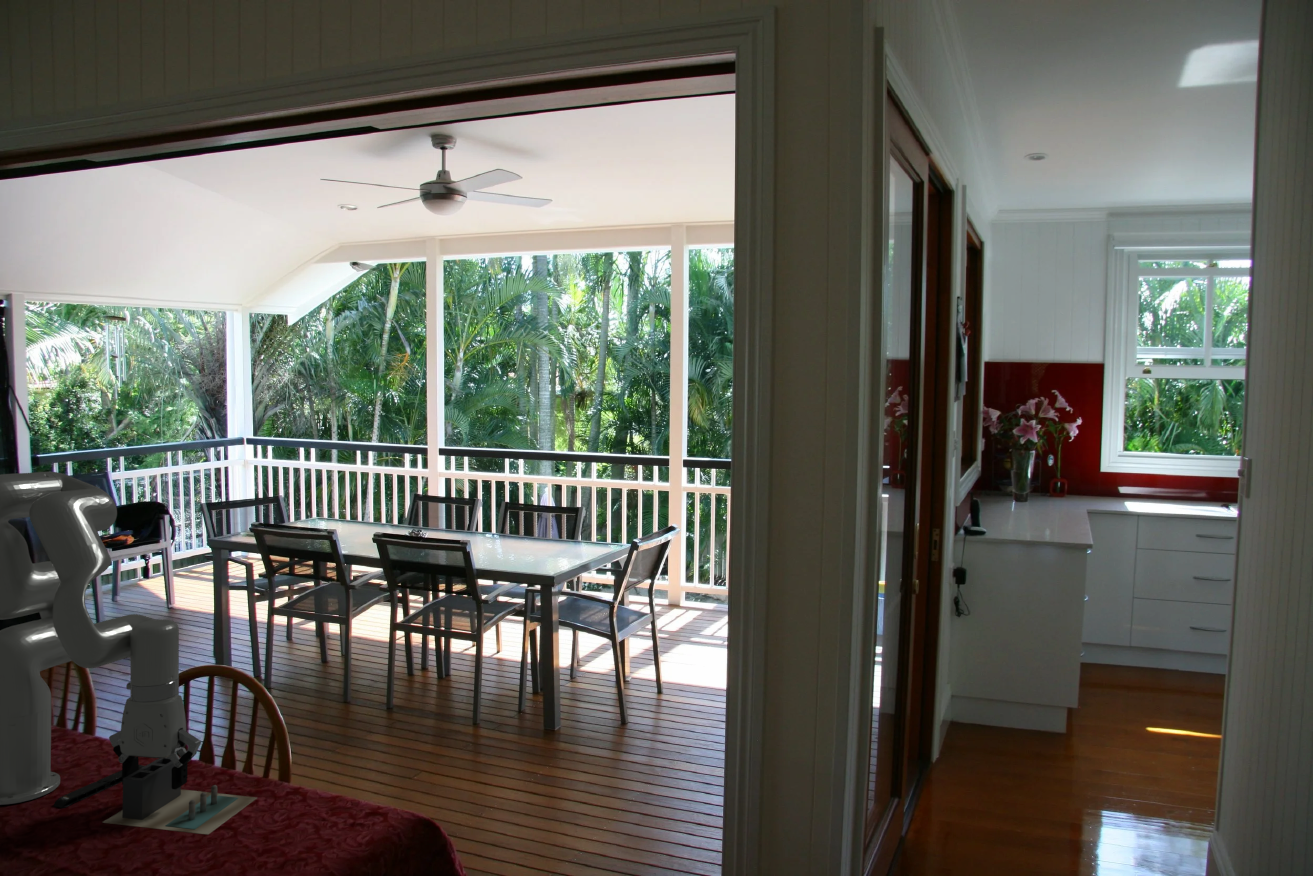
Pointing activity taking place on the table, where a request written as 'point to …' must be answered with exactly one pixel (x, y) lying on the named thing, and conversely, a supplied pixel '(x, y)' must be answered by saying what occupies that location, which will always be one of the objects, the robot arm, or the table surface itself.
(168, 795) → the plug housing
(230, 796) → the pin board
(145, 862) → the table surface
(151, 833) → the table surface
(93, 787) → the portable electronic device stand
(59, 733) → the table surface
